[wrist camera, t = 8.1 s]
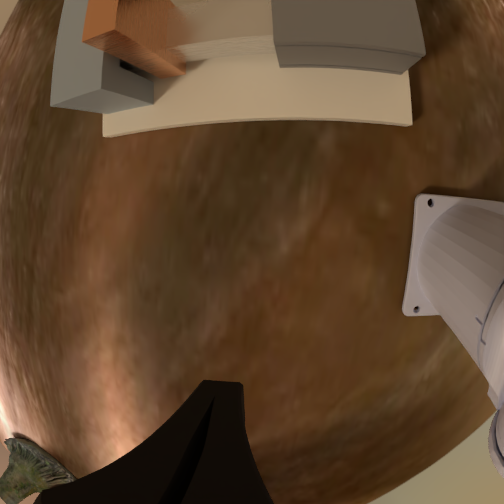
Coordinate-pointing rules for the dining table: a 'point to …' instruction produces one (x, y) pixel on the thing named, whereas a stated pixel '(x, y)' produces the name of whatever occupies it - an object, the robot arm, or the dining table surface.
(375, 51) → the cream rectangular panel
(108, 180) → the dining table surface
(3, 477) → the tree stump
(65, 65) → the socket block
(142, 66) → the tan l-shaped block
